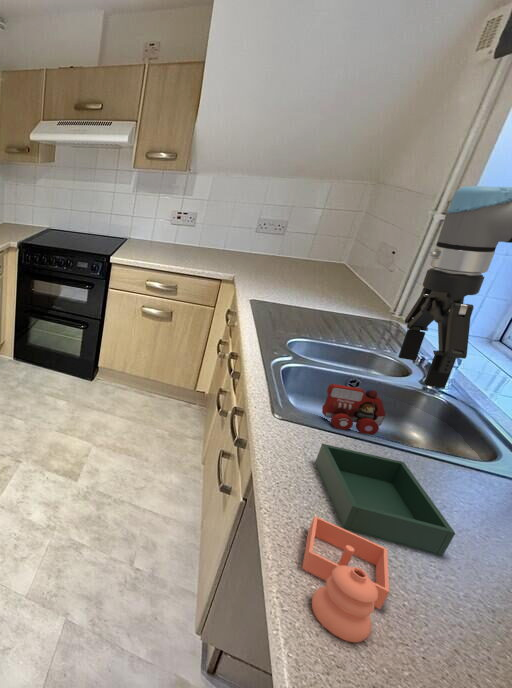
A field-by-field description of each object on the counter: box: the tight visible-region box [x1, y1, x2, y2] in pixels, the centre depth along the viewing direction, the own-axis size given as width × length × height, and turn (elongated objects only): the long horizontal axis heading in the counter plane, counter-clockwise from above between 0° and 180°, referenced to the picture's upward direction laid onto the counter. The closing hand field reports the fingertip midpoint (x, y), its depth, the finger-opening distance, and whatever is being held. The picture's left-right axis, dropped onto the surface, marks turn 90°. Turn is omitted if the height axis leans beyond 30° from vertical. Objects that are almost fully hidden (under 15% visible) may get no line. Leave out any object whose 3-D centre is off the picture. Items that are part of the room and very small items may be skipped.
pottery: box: [301, 515, 390, 643], centre depth 61 cm, size 18×10×10 cm, turn 140°
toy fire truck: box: [321, 383, 386, 436], centre depth 100 cm, size 7×12×10 cm, turn 72°
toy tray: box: [314, 443, 456, 557], centre depth 77 cm, size 14×18×6 cm
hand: (419, 371), depth 85 cm, fingers open, 13 cm apart
